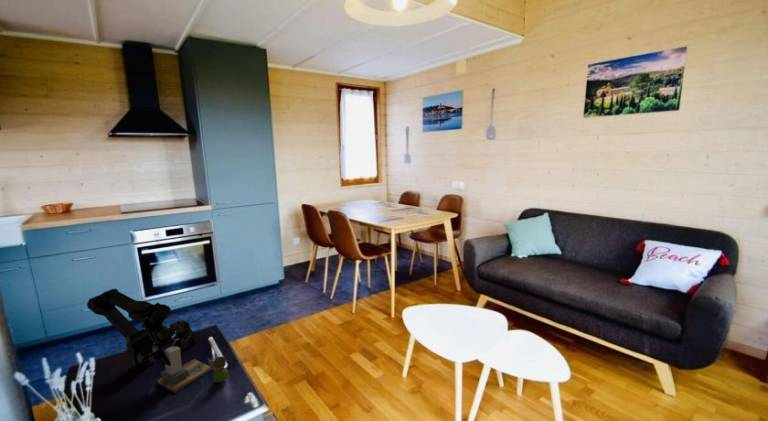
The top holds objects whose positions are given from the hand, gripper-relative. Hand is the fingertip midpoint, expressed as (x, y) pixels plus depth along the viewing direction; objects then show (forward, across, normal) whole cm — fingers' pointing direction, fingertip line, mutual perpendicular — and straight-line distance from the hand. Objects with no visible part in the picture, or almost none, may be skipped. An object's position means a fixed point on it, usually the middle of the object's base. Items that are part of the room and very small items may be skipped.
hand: (176, 362), depth 135 cm
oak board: (+5, +3, +6) cm, 9 cm away
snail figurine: (+17, +8, -5) cm, 19 cm away
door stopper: (-10, +16, +22) cm, 29 cm away
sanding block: (+4, -1, +6) cm, 7 cm away
